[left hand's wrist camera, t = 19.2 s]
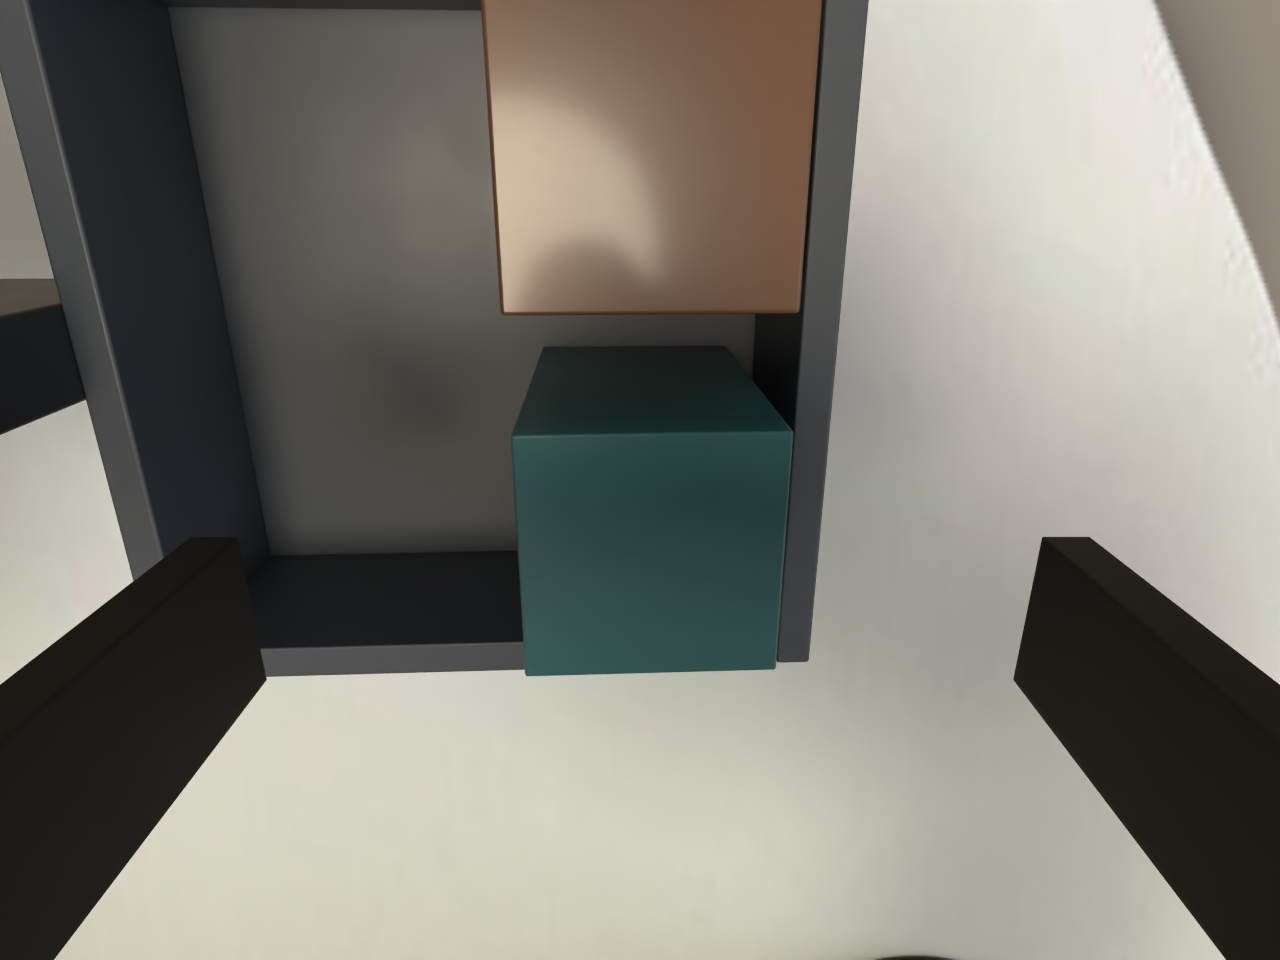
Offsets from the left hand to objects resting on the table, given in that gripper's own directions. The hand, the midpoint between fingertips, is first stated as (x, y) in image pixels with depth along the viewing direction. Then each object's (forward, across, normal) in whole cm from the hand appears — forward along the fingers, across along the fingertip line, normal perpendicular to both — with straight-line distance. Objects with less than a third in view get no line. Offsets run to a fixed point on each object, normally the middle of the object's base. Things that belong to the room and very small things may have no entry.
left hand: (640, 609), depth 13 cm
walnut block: (+10, 0, -7) cm, 12 cm away
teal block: (+10, 0, 0) cm, 10 cm away
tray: (+10, +8, -3) cm, 13 cm away
